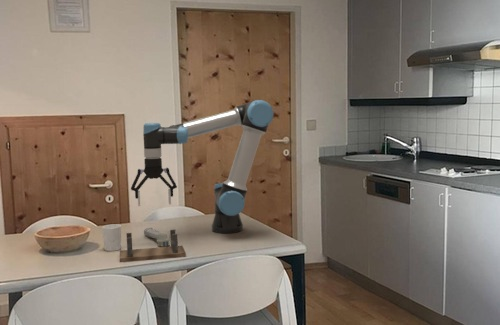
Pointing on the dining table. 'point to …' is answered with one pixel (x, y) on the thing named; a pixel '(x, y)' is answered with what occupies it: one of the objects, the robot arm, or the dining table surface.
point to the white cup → (112, 237)
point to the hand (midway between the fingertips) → (154, 204)
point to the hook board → (152, 250)
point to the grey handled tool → (157, 236)
